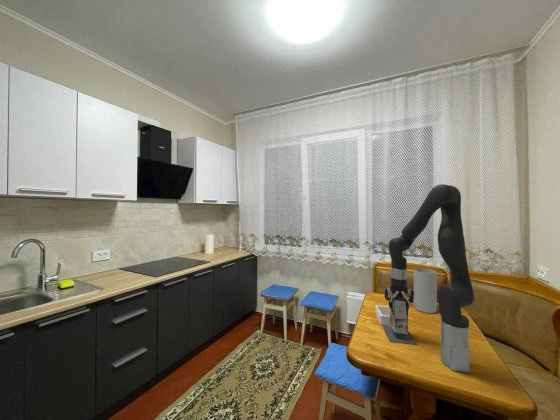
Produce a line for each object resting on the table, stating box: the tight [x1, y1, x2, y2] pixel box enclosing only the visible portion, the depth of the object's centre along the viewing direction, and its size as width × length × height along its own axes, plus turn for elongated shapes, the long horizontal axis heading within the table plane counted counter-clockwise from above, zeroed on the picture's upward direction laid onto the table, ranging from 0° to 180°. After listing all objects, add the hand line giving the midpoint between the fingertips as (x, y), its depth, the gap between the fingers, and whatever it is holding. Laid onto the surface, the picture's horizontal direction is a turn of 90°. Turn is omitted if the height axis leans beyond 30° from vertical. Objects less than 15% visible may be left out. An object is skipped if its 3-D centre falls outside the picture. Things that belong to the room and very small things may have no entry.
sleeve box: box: [374, 304, 391, 326], centre depth 131 cm, size 14×11×5 cm
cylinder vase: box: [413, 267, 438, 314], centre depth 145 cm, size 12×12×25 cm
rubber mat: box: [381, 325, 418, 346], centre depth 115 cm, size 15×12×1 cm
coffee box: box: [389, 297, 409, 334], centre depth 115 cm, size 9×6×16 cm
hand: (398, 309), depth 115 cm, fingers closed on coffee box, 6 cm apart
